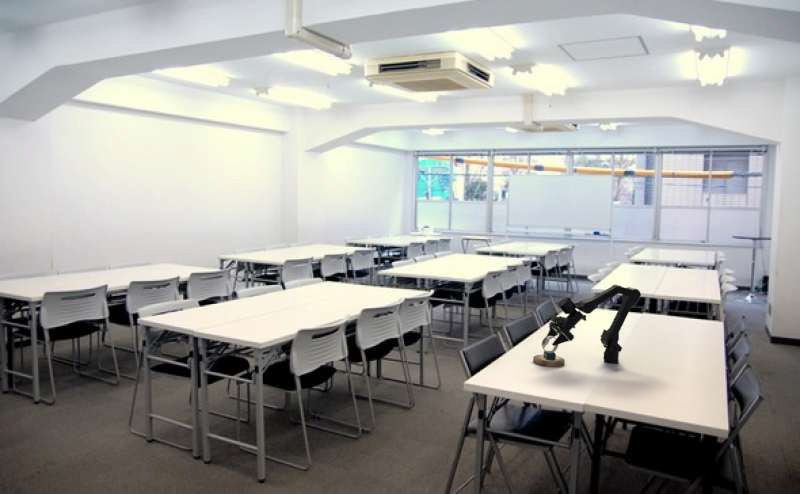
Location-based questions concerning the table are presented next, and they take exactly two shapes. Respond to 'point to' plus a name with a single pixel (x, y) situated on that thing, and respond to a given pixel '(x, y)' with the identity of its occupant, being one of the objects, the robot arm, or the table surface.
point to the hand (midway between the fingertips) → (549, 342)
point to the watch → (549, 354)
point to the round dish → (548, 361)
